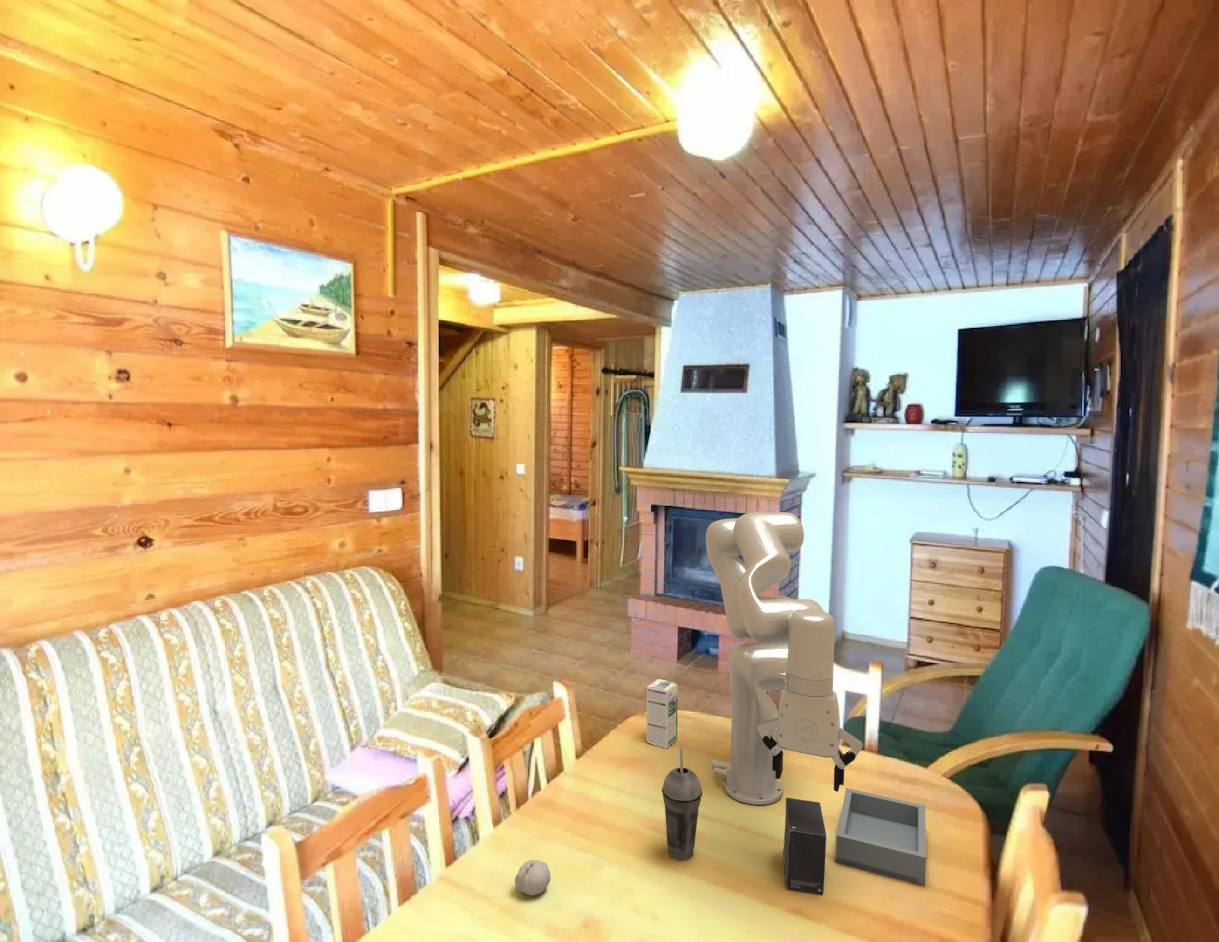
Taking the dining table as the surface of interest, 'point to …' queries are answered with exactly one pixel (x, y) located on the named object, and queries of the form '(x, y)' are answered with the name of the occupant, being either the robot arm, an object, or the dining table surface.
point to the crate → (882, 836)
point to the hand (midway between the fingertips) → (807, 781)
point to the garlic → (533, 877)
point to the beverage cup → (681, 810)
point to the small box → (804, 846)
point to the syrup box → (662, 712)
